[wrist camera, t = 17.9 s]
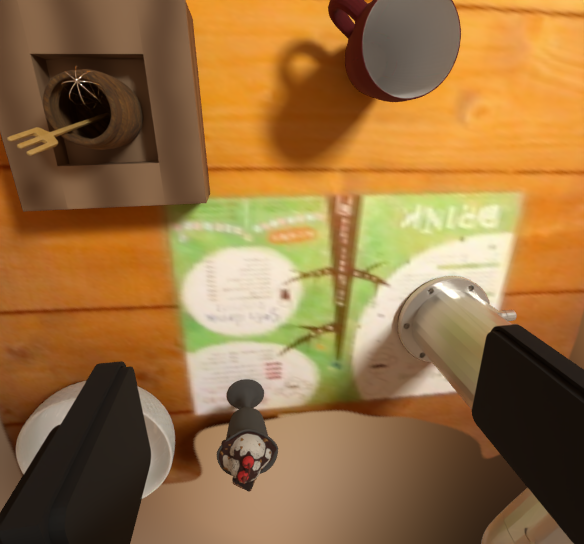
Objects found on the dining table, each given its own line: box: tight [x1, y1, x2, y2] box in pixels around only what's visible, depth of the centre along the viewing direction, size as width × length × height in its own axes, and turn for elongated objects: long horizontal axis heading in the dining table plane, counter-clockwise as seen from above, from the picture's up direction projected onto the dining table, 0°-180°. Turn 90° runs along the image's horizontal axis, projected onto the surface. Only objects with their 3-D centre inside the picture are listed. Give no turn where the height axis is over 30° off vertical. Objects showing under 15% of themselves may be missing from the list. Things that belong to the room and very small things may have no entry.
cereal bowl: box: [16, 381, 175, 498], centre depth 45 cm, size 17×17×7 cm
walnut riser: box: [0, 0, 210, 211], centre depth 33 cm, size 16×16×6 cm
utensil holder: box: [7, 66, 143, 156], centre depth 28 cm, size 6×6×12 cm
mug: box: [328, 0, 461, 102], centre depth 32 cm, size 11×8×10 cm
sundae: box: [217, 380, 278, 491], centre depth 43 cm, size 7×7×15 cm
